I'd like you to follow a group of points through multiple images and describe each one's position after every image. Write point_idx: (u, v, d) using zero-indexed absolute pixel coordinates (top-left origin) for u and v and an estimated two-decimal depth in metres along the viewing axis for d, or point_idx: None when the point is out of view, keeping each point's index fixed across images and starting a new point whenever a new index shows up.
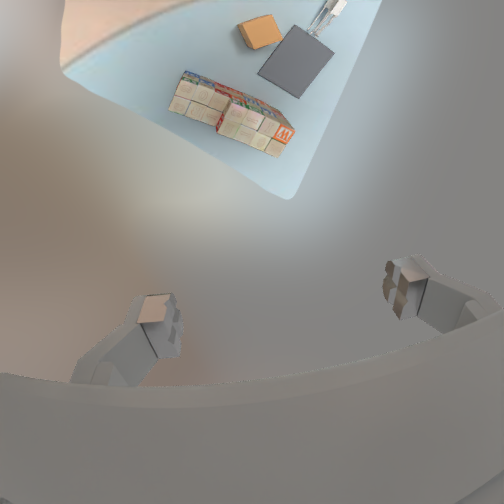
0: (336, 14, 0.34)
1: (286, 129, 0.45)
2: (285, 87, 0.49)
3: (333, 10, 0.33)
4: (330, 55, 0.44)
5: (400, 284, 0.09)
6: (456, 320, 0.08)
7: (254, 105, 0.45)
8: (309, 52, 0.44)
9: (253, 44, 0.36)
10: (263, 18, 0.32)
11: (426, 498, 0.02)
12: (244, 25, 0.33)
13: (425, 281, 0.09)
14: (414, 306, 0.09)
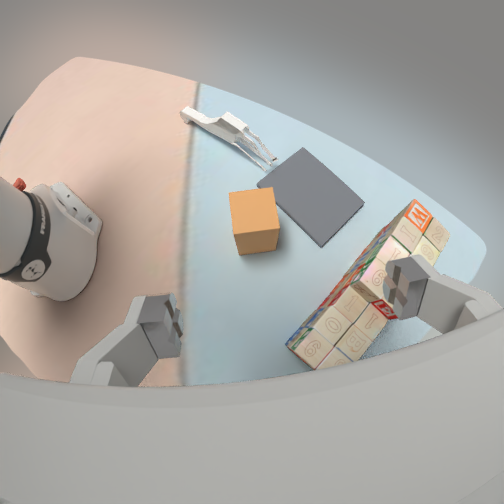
0: (244, 125, 0.37)
1: (412, 211, 0.28)
2: (347, 215, 0.39)
3: (237, 127, 0.37)
4: (305, 152, 0.42)
5: (400, 284, 0.09)
6: (456, 320, 0.08)
7: (368, 254, 0.31)
8: (299, 175, 0.41)
9: (271, 227, 0.30)
10: (232, 204, 0.31)
11: (426, 498, 0.02)
12: (236, 231, 0.30)
13: (425, 281, 0.09)
14: (414, 306, 0.09)
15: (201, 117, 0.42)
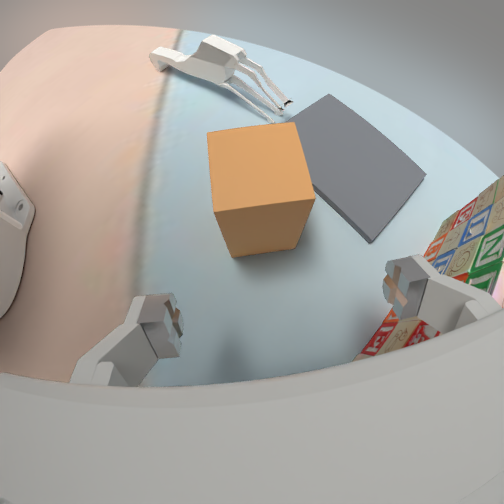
0: (238, 49, 0.20)
1: None
2: (405, 192, 0.22)
3: (228, 51, 0.20)
4: (334, 100, 0.25)
5: (400, 284, 0.09)
6: (456, 320, 0.08)
7: (463, 256, 0.14)
8: (328, 129, 0.24)
9: (296, 196, 0.14)
10: (212, 152, 0.14)
11: (426, 498, 0.02)
12: (219, 206, 0.14)
13: (424, 281, 0.09)
14: (414, 306, 0.09)
15: (177, 56, 0.25)
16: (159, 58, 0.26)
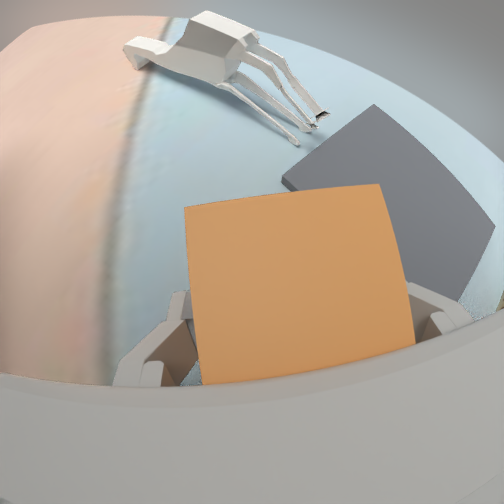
0: (246, 30, 0.12)
1: None
2: (475, 255, 0.14)
3: (230, 33, 0.12)
4: (381, 114, 0.17)
5: None
6: (424, 331, 0.08)
7: None
8: (379, 160, 0.16)
9: None
10: (198, 266, 0.06)
11: (426, 498, 0.02)
12: None
13: None
14: None
15: (158, 46, 0.17)
16: (135, 51, 0.18)
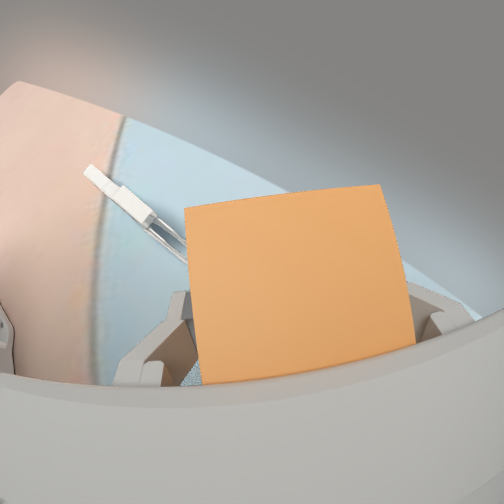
0: (147, 211, 0.22)
1: None
2: None
3: (137, 216, 0.21)
4: None
5: None
6: (424, 331, 0.08)
7: None
8: None
9: None
10: (198, 268, 0.06)
11: (426, 498, 0.02)
12: None
13: None
14: None
15: (105, 183, 0.27)
16: (91, 181, 0.27)
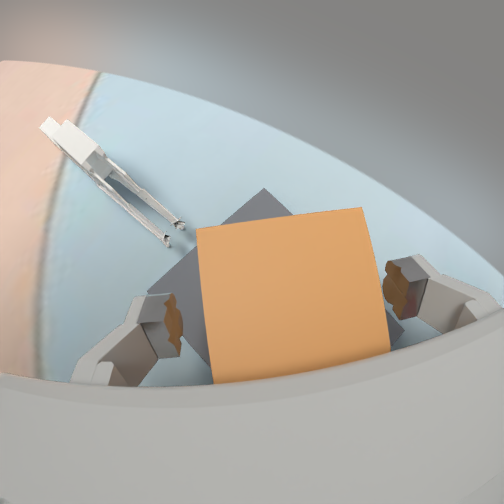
0: (91, 147, 0.13)
1: None
2: None
3: (77, 155, 0.13)
4: (270, 202, 0.18)
5: (400, 284, 0.09)
6: (456, 320, 0.08)
7: None
8: None
9: None
10: (209, 279, 0.08)
11: (426, 498, 0.02)
12: None
13: (425, 281, 0.09)
14: (414, 306, 0.09)
15: None
16: (47, 136, 0.19)
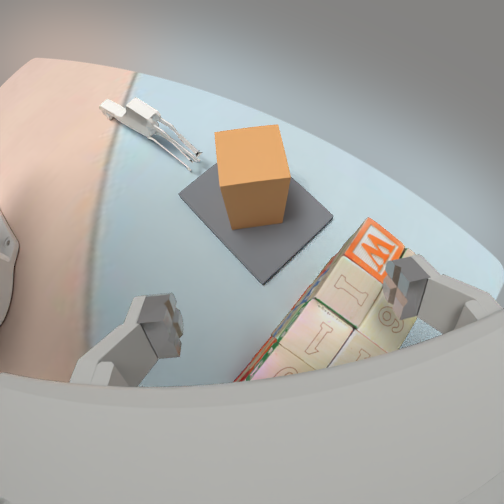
0: (153, 111, 0.25)
1: (364, 242, 0.16)
2: (304, 236, 0.28)
3: (144, 115, 0.25)
4: None
5: (400, 284, 0.09)
6: (456, 320, 0.08)
7: (289, 319, 0.19)
8: None
9: (277, 176, 0.19)
10: (219, 146, 0.20)
11: (426, 498, 0.02)
12: (223, 183, 0.19)
13: (424, 281, 0.09)
14: (414, 306, 0.09)
15: (118, 109, 0.30)
16: (106, 111, 0.31)
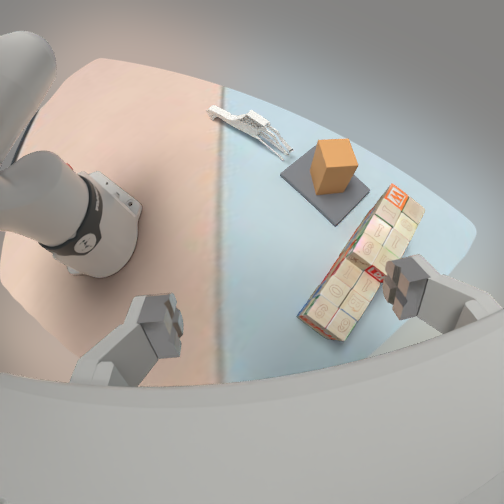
0: (266, 121, 0.44)
1: (391, 193, 0.35)
2: (356, 200, 0.46)
3: (261, 123, 0.44)
4: None
5: (400, 284, 0.09)
6: (456, 320, 0.08)
7: (358, 232, 0.38)
8: None
9: (352, 164, 0.38)
10: (322, 147, 0.39)
11: (426, 498, 0.02)
12: (328, 166, 0.38)
13: (425, 281, 0.09)
14: (414, 306, 0.09)
15: (227, 114, 0.49)
16: (214, 113, 0.50)
